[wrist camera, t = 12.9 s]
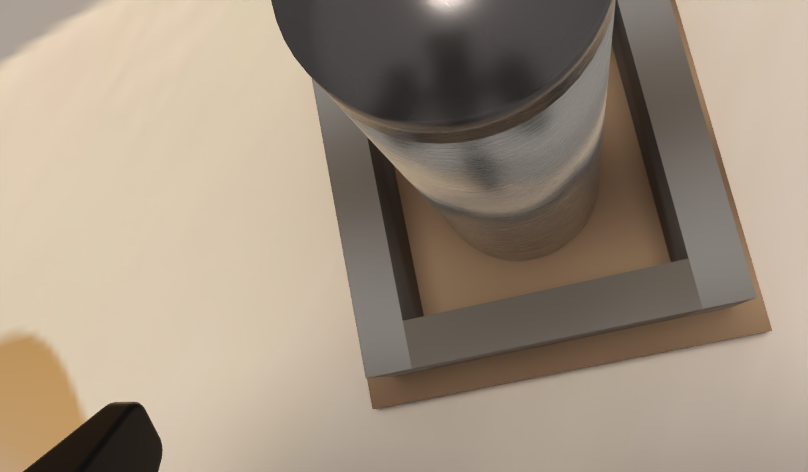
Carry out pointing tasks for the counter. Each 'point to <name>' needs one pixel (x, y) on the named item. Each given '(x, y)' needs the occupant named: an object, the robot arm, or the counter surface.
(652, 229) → the socket
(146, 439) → the robot arm
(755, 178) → the counter surface
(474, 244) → the brushed metal canister
